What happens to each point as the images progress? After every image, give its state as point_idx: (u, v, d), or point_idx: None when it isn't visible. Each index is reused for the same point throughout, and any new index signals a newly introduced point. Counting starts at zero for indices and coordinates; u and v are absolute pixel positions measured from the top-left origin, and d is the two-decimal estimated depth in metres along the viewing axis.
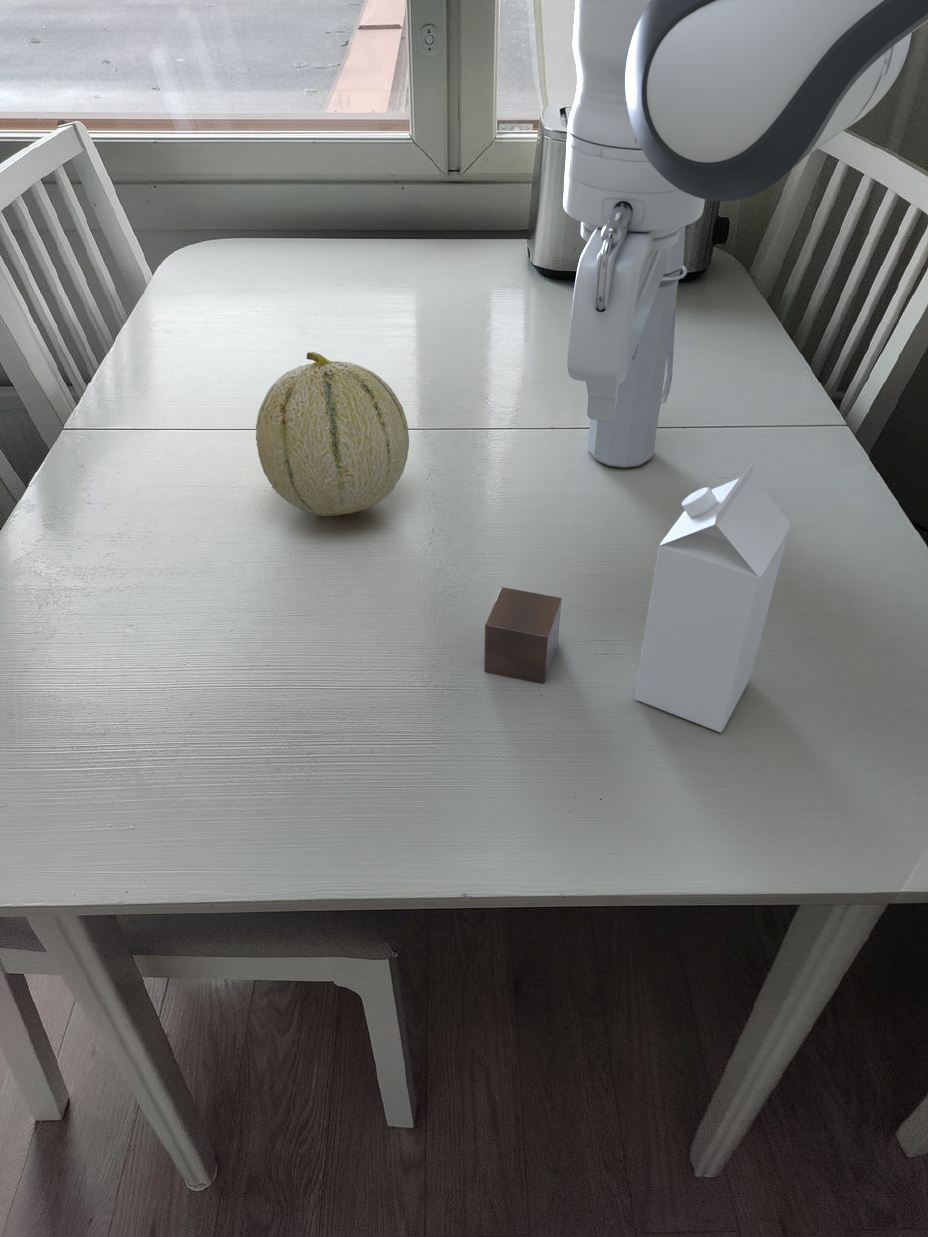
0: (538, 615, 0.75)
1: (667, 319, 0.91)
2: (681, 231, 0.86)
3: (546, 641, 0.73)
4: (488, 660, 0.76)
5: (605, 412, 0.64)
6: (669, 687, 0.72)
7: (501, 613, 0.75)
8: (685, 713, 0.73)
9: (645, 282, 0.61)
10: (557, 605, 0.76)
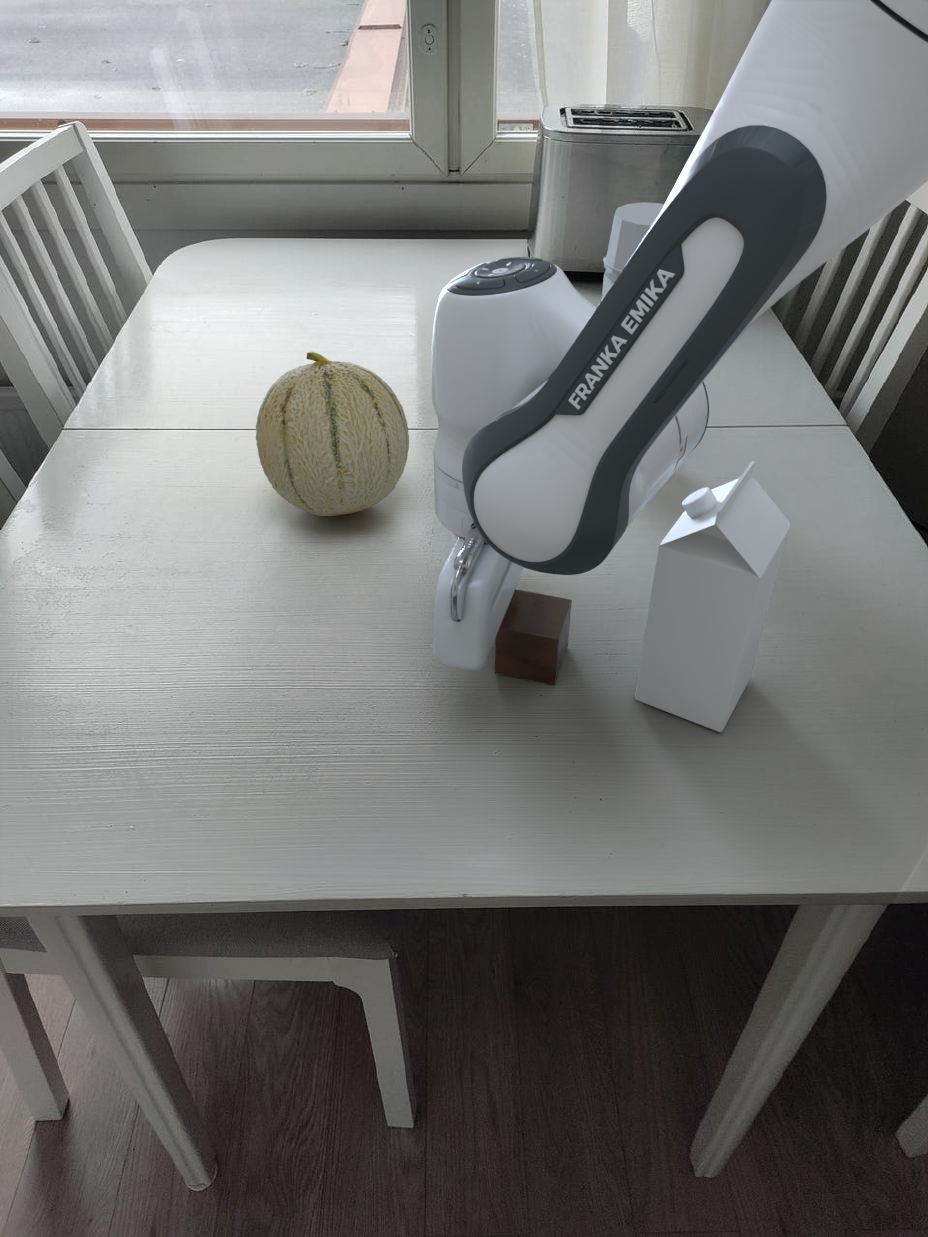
0: (548, 617, 0.75)
1: None
2: None
3: (557, 643, 0.73)
4: (498, 662, 0.76)
5: None
6: (669, 687, 0.72)
7: (512, 615, 0.75)
8: (685, 713, 0.73)
9: (506, 573, 0.70)
10: (567, 607, 0.76)
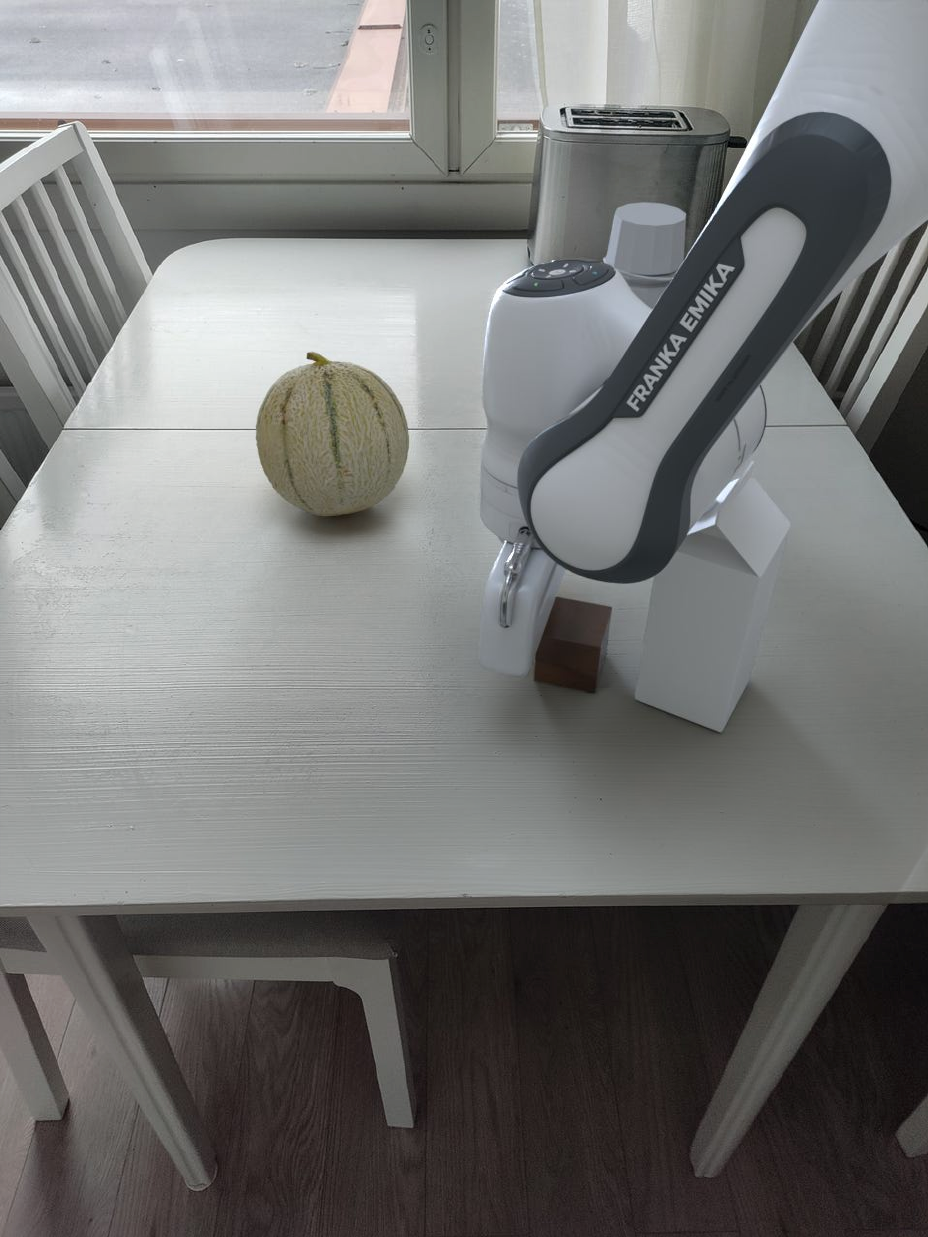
0: (589, 625, 0.74)
1: None
2: (681, 231, 0.86)
3: (599, 651, 0.72)
4: (538, 670, 0.75)
5: None
6: (669, 687, 0.72)
7: (552, 622, 0.74)
8: (685, 713, 0.73)
9: (551, 578, 0.69)
10: (608, 614, 0.75)
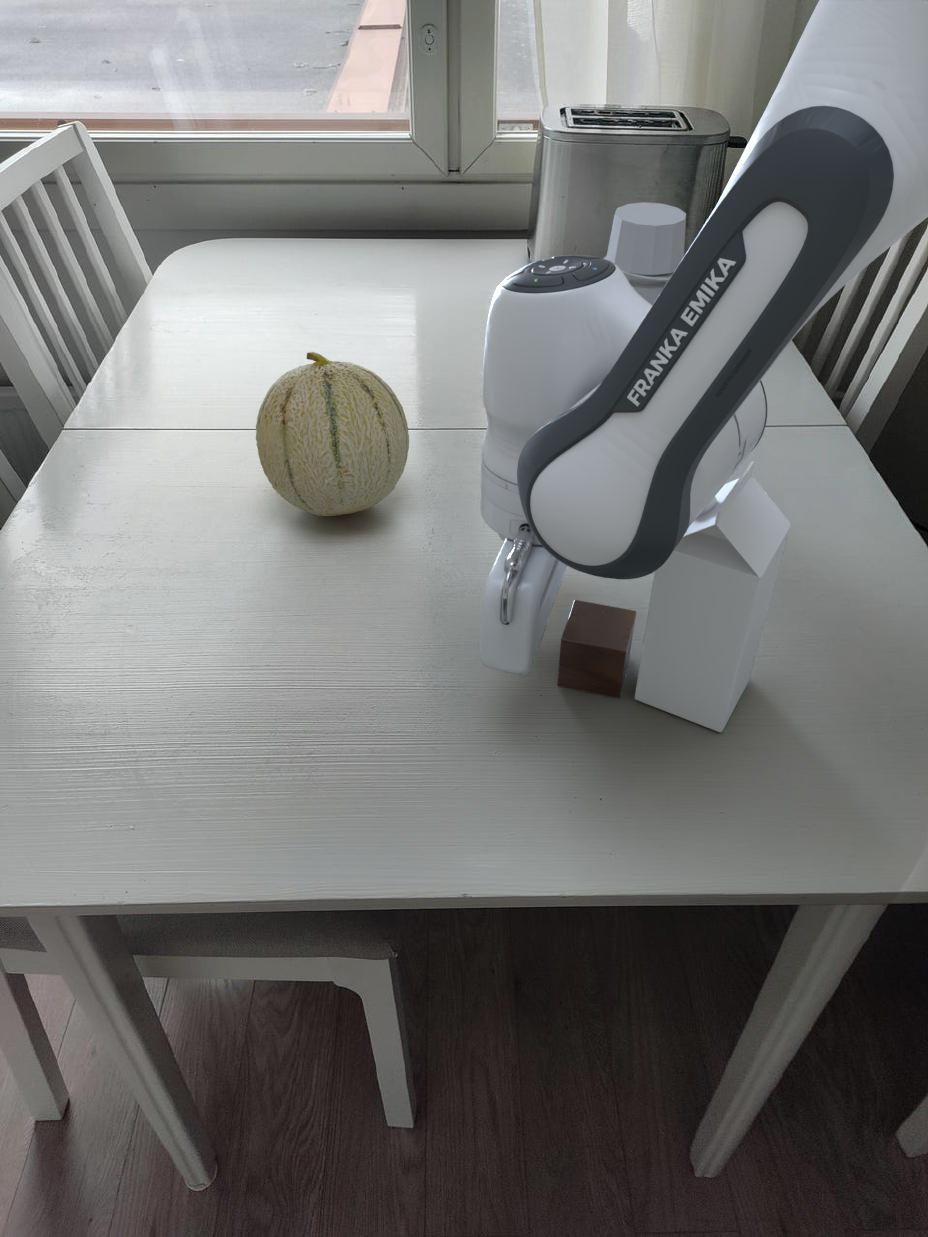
0: (614, 629, 0.74)
1: None
2: (681, 231, 0.86)
3: (624, 656, 0.72)
4: (562, 674, 0.75)
5: None
6: (669, 687, 0.72)
7: (577, 627, 0.74)
8: (685, 713, 0.73)
9: (552, 575, 0.69)
10: (633, 618, 0.75)
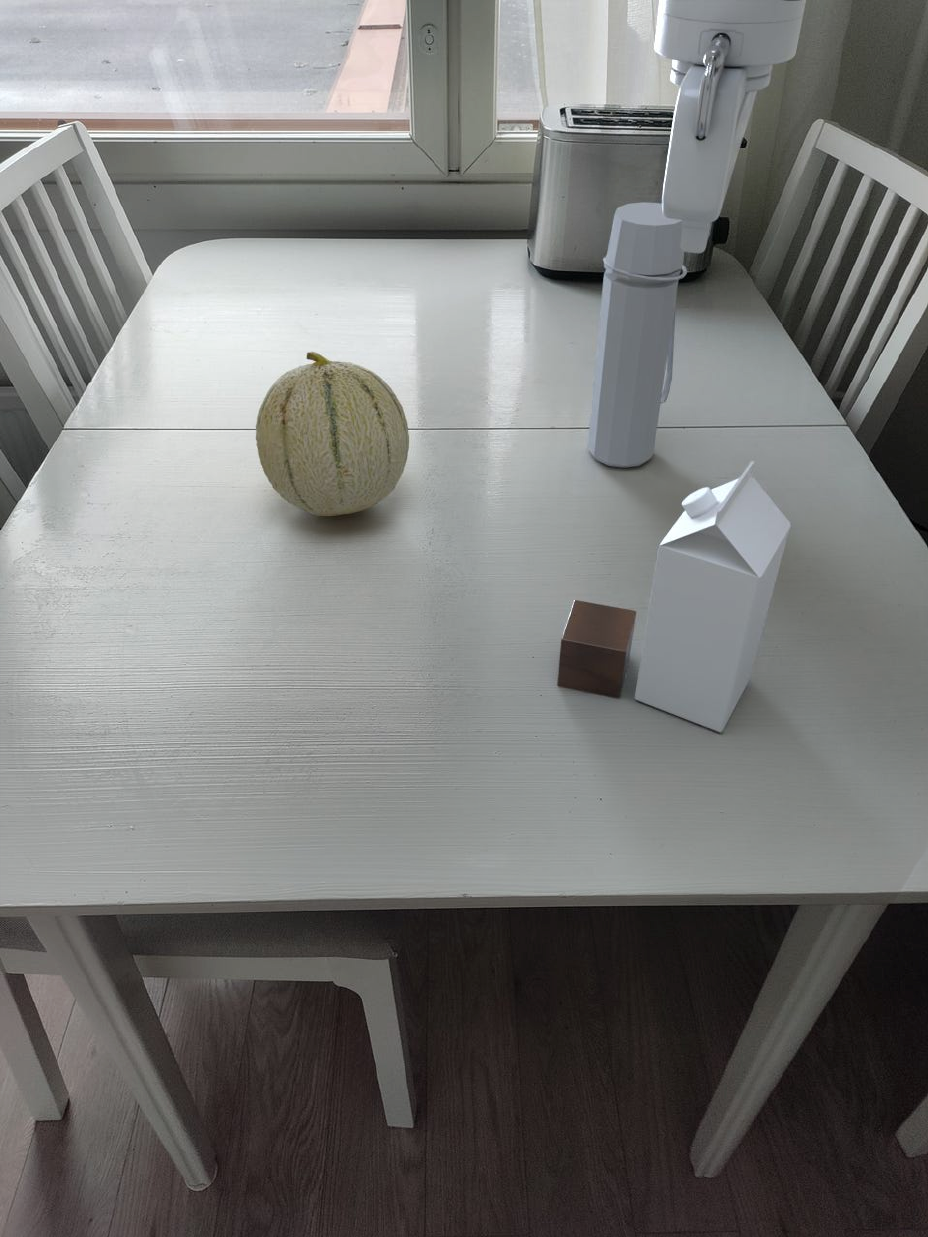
0: (614, 629, 0.74)
1: (667, 319, 0.91)
2: (681, 231, 0.86)
3: (624, 656, 0.72)
4: (562, 674, 0.75)
5: (698, 243, 0.67)
6: (669, 687, 0.72)
7: (577, 627, 0.74)
8: (685, 713, 0.73)
9: (736, 126, 0.61)
10: (633, 618, 0.75)
